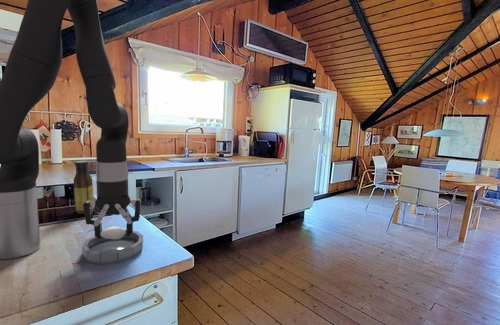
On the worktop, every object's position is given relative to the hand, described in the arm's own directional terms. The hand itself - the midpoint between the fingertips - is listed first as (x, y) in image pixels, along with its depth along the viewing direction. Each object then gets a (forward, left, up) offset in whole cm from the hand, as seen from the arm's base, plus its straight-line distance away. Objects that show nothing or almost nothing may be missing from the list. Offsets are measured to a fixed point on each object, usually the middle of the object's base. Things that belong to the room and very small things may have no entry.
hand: (114, 236), depth 72 cm
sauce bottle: (-16, +35, -4) cm, 39 cm away
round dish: (0, 0, -4) cm, 4 cm away
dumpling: (0, 0, -1) cm, 1 cm away
